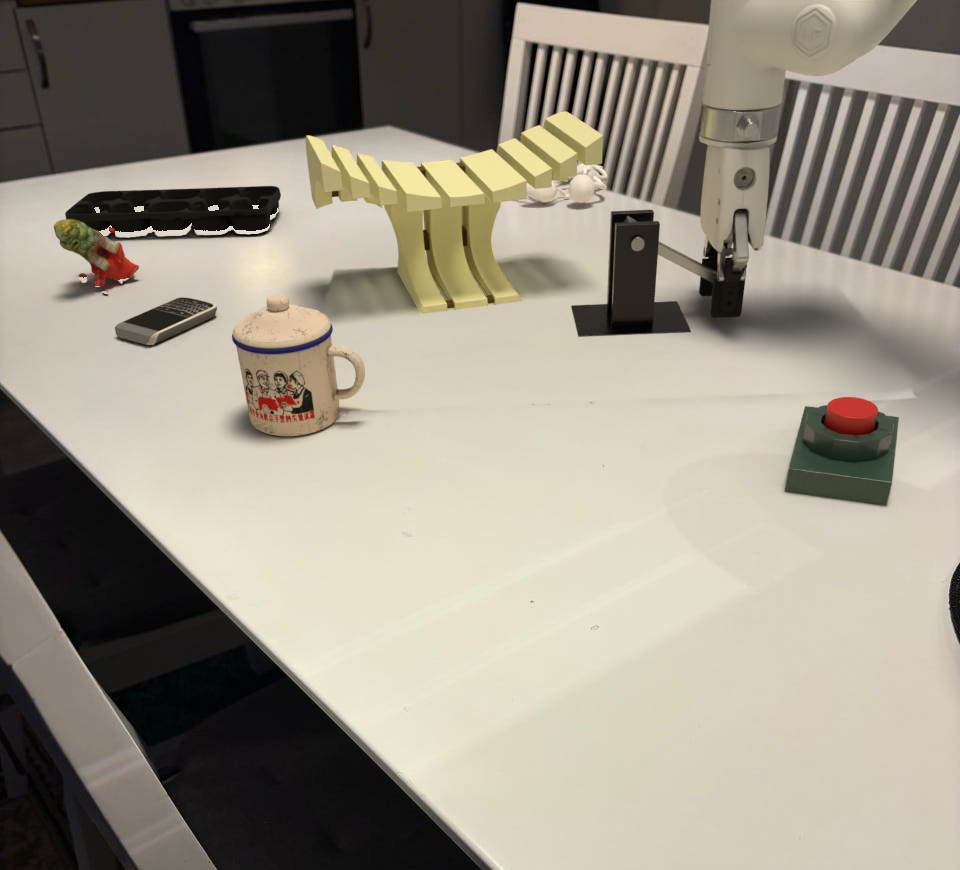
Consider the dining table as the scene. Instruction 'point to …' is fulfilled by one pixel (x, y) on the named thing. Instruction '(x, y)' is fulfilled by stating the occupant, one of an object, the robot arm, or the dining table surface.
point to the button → (851, 416)
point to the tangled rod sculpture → (574, 185)
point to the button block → (843, 460)
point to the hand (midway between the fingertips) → (719, 303)
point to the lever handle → (683, 260)
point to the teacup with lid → (291, 368)
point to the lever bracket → (631, 284)
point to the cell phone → (165, 320)
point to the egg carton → (179, 209)
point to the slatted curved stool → (454, 204)
